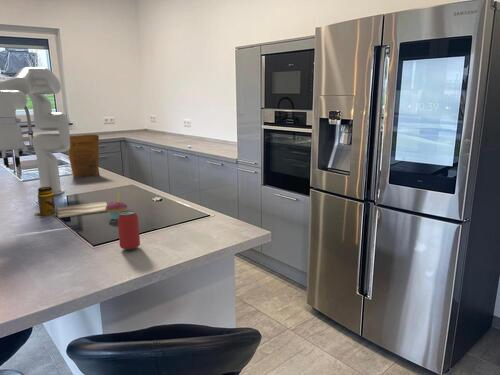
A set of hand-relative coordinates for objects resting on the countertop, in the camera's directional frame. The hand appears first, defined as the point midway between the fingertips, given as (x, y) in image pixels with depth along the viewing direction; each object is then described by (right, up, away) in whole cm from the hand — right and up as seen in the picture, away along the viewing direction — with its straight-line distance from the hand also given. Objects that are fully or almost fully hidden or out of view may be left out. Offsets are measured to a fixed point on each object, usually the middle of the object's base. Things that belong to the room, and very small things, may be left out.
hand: (12, 166), depth 158 cm
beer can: (+58, -29, -28) cm, 70 cm away
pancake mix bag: (-7, -3, +88) cm, 89 cm away
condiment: (+9, -21, +9) cm, 25 cm away
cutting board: (+22, -19, +16) cm, 33 cm away
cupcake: (+42, -22, +4) cm, 47 cm away
